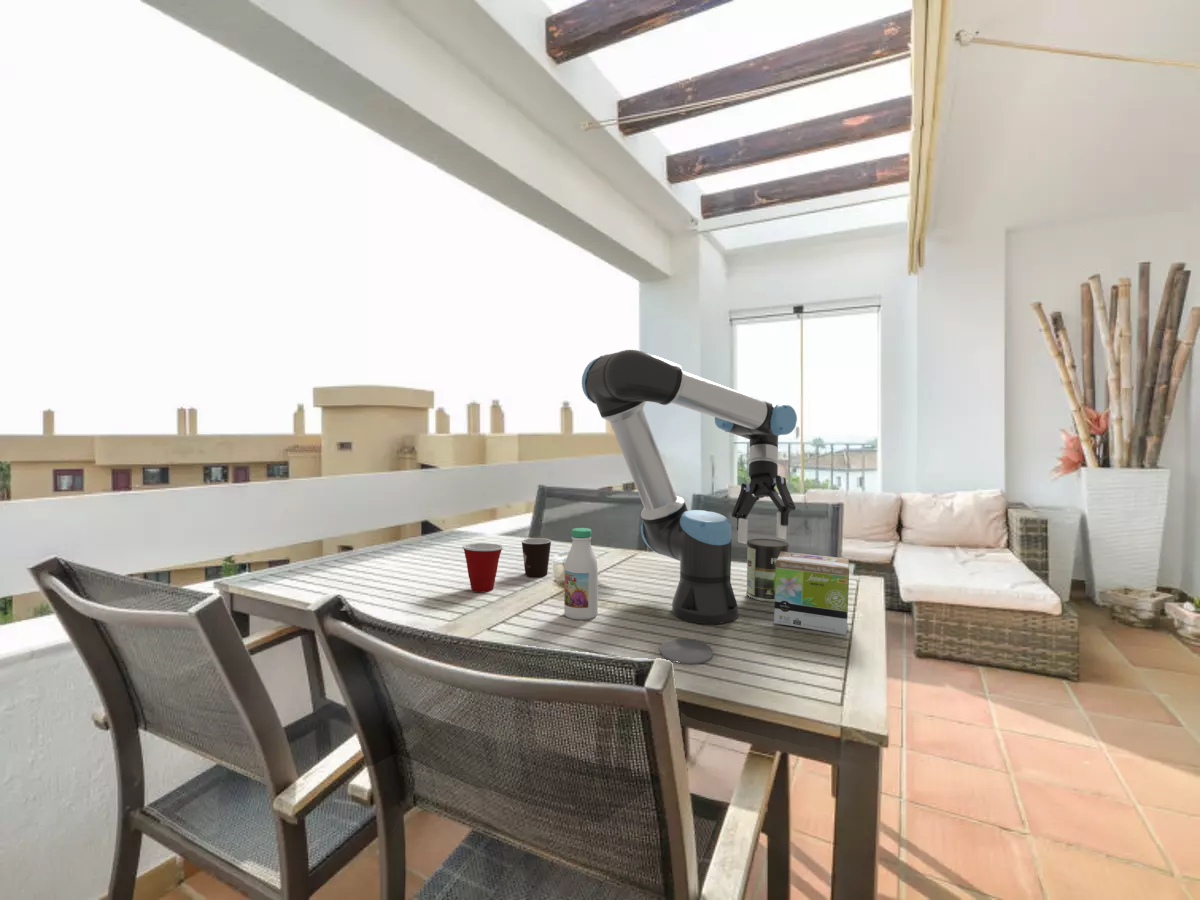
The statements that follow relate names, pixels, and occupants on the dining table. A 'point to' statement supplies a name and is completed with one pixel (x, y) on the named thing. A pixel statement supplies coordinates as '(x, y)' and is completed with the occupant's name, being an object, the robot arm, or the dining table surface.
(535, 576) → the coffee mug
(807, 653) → the dining table surface
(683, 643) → the slate coaster
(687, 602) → the robot arm
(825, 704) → the dining table surface
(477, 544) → the plastic cup
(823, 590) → the tea box
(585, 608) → the milk bottle
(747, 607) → the dining table surface
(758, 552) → the coffee can
